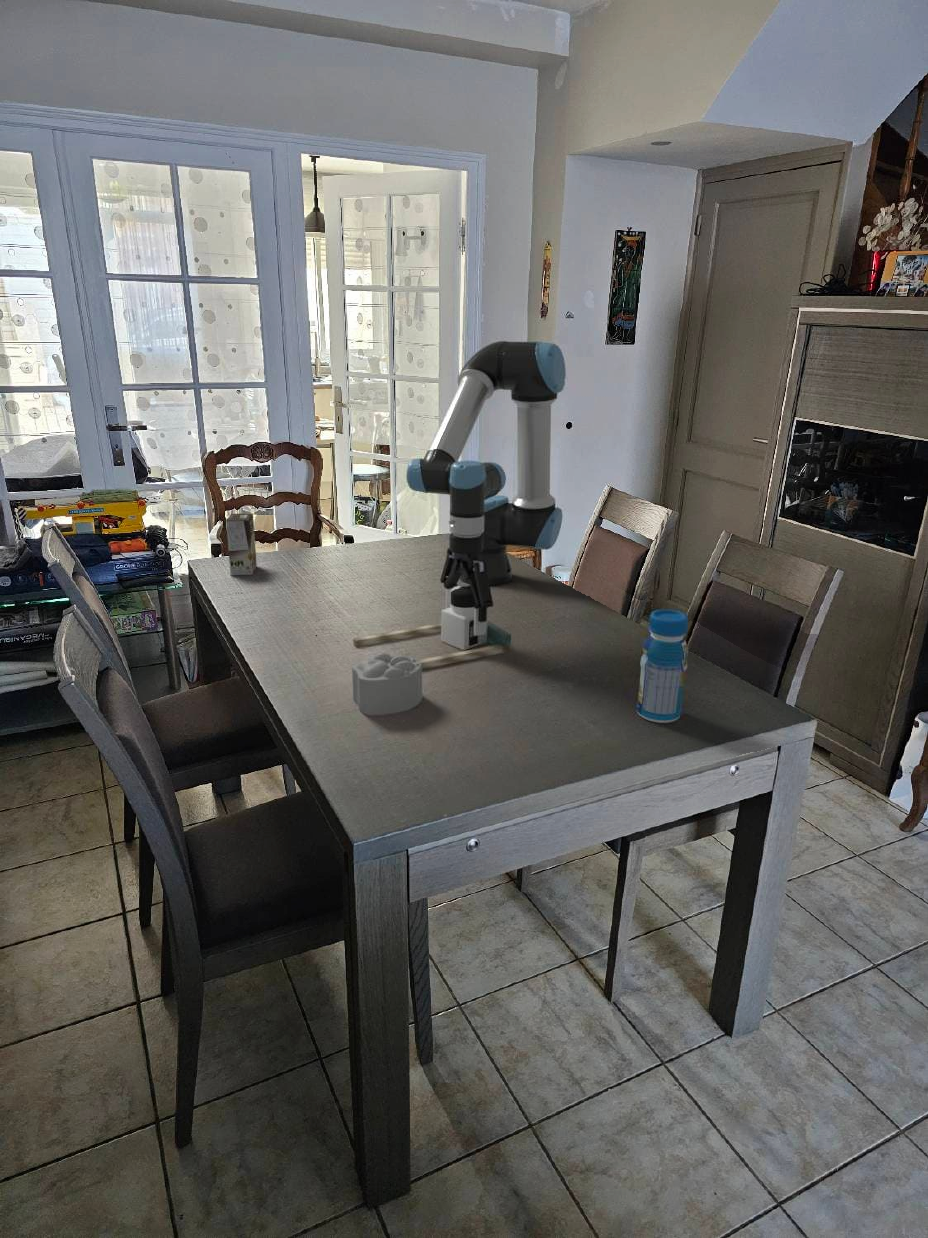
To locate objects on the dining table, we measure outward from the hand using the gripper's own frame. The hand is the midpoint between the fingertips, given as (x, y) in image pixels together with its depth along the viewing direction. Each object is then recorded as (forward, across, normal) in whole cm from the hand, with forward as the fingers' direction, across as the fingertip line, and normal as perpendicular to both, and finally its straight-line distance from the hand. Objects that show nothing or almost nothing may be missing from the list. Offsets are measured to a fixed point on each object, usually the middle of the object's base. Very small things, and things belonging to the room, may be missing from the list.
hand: (465, 624), depth 182 cm
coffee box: (+4, -76, -32) cm, 82 cm away
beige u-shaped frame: (+4, 0, -8) cm, 9 cm away
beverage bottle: (+4, +48, +16) cm, 51 cm away
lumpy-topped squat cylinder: (+4, +20, -28) cm, 34 cm away
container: (+4, 0, 0) cm, 5 cm away
